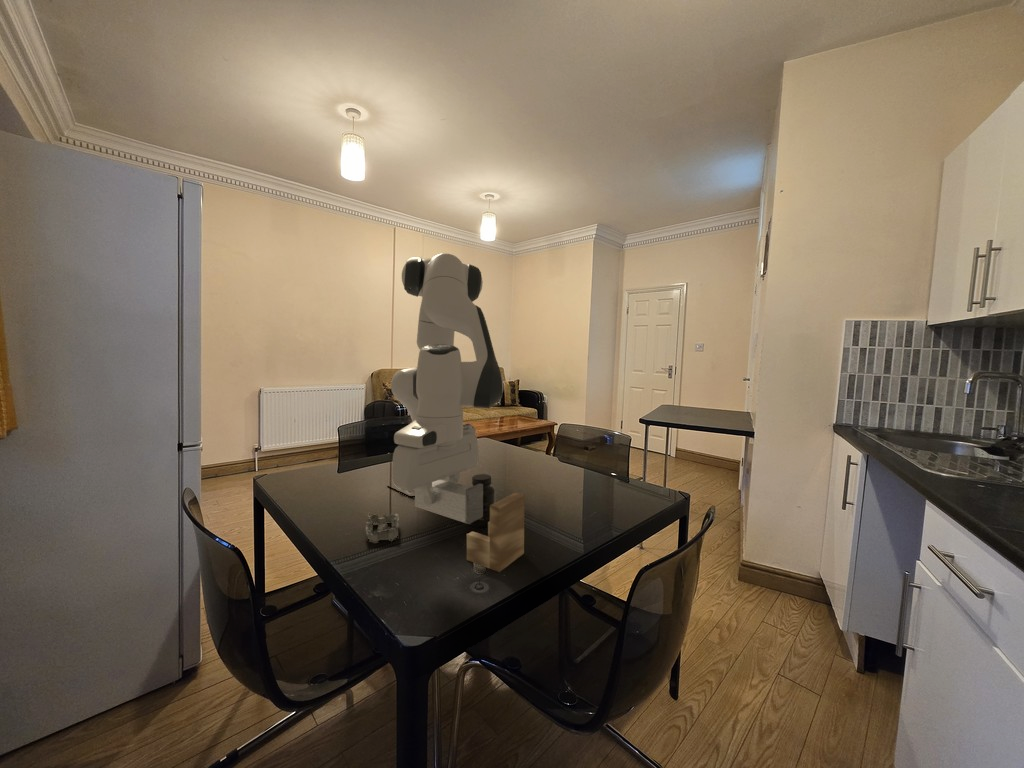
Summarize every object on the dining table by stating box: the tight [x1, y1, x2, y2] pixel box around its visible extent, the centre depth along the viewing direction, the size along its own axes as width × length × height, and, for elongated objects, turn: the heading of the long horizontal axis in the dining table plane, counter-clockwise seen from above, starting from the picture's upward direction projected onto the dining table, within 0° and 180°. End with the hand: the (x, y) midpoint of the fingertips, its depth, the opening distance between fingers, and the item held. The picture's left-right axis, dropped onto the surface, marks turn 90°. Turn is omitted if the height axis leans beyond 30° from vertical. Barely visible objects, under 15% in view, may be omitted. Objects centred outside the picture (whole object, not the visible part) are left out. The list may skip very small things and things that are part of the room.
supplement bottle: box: [469, 473, 496, 528], centre depth 102 cm, size 7×7×12 cm
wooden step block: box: [466, 492, 525, 573], centre depth 84 cm, size 8×9×13 cm
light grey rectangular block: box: [414, 480, 483, 525], centre depth 76 cm, size 14×4×6 cm, turn 56°
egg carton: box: [365, 511, 400, 541], centre depth 95 cm, size 11×8×4 cm
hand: (440, 499), depth 78 cm, fingers closed on light grey rectangular block, 4 cm apart
